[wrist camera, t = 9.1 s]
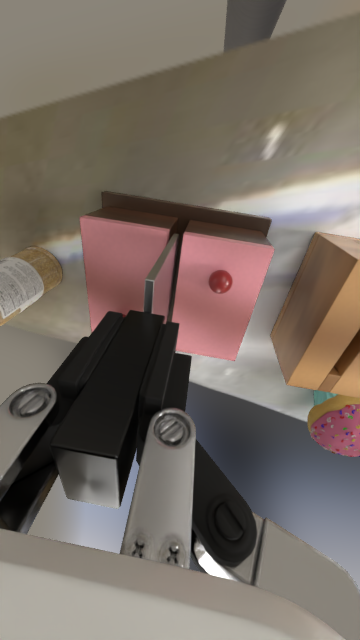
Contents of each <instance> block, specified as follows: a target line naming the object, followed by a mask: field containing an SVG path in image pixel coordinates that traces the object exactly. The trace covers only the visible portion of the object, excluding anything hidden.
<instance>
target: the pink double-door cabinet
mask: <svg viewBox="0 0 360 640" xmlns="http://www.w3.org/2000/svg"><path fill="white" fill-rule="evenodd" d="M271 221H272V219H271V218H269V217H263V216H256V215H250V214H244V213H238V212H232V211H225V210H219V209H213V208H207V207H201V206H194V205H188V204H182V203H176V202H170V201H163V200H157V199H151V198H145V197H139V196H132V195H126V194H120V193H114V192H108V191H104V192H102V209H99V210H97V211H94V212H91V213H89V214H86V215H84V216H81V217H80V227H81V237H82V246H83V256H84V265H85V275H86V284H87V294H88V303H89V313H90V322H91V331H92V332H93V331H94V330H95V328H96V327H97V325H98V324H99V323H100V321H101V320H102V319H103V317H104V316H105V315H106V313H107V312H108V311H113V312H119V313H122V315H123V317H126V315H127V313H128V312H129V310H135V311H141V312H143V307H144V287H145V279H146V277H147V275H148V274H149V272H150V271H151V269H152V268H153V266H154V264H155V263H156V261H157V260H158V258H159V256H160V255H161V253H162V252H163V250H164V249H165V247H166V245H167V244H168V242H169V241H170V239H171V237H172V236H173V234H179V242H178V250H177V258H176V266H175V274H174V282H173V291H172V299H171V307H170V311H169V314H168V317H167V321H169V322H175V323H180V325H179V331H178V338H177V344H176V351H181V352H187V353H192V354H198V355H203V356H209V357H214V358H220V359H225V360H231V361H235V359H236V356H237V354H238V351H239V348H240V345H241V342H242V340H243V337H244V334H245V331H246V328H247V326H248V323H249V320H250V317H251V314H252V312H253V309H254V306H255V303H256V301H257V298H258V295H259V292H260V289H261V287H262V284H263V281H264V278H265V275H266V273H267V270H268V267H269V264H270V261H271V259H272V256H273V253H274V250H275V249H274V248H273V246H272V245H271V244H270V242H269V241H268V240H267V238H266V236H267V233H268V230H269V227H270V224H271ZM167 321H166V324H167Z"/></svg>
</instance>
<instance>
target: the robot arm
mask: <svg viewBox="0 0 360 640" xmlns="http://www.w3.org/2000/svg"><path fill="white" fill-rule="evenodd" d="M124 319H125V317H123V315H122V313H119V312H113V311H108V312H107V313H106V315H105V316H104V317H103V319H102V320H101V321H100V323H99V324H98V325H97V327H96V328H95V330H94V331H93V332H92V334H91V335H90V336H89V337H83V338H82V339H81V340H80V341H79V343H78V344H77V345H76V347H75V348H74V349H73V350H72V352H71V353H70V354H69V356H68V357H67V358H66V360H65V361H64V362H63V363H62V365H61V366H60V367H59V369H58V370H57V371H56V372H55V374H54V375H53V376H52V377H51V379H50V380H49V381H48V383H47V384H45V383H35V384H29V385H26V386H23V387H21V388H20V389H18V390H16V391H15V392H14V393H12V394H11V395H10V396H9V397H8V398H7V399H6V400H5V401H4V402H3V403H2V405H0V640H360V590H359V588H358V586H357V584H356V583H355V581H354V580H353V579H352V577H351V576H350V575H349V574H348V572H347V571H346V570H345V569H344V568H342V567H341V566H340V565H339V564H338V563H336V562H335V561H334V560H332V559H330V558H329V557H327V556H326V555H324V554H322V553H321V552H319V551H318V550H316V549H315V548H313V547H312V546H310V545H308V544H307V543H305V542H304V541H302V540H301V539H299V538H298V537H296V536H294V535H293V534H291V533H290V532H288V531H287V530H285V529H283V528H282V527H280V526H279V525H277V524H276V523H274V522H272V521H271V520H269V519H268V518H265V519H262V518H261V517H259V516H258V515H256V514H255V513H253V512H252V511H251V509H250V507H249V506H248V504H247V503H246V501H245V500H244V499H243V497H242V496H241V495H240V494H239V493H238V491H237V490H236V489H235V487H234V486H233V485H232V484H231V482H230V481H229V480H228V479H227V477H226V476H225V475H224V474H223V472H222V471H221V470H220V469H219V467H218V466H217V465H216V464H215V462H214V461H213V460H212V459H211V457H210V456H209V455H208V454H207V452H206V451H205V450H204V449H203V447H202V446H201V445H200V443H199V442H198V441H197V440H196V438H195V435H196V433H195V432H196V431H195V425H194V422H193V420H192V418H191V417H190V416H189V415H188V414H187V413H185V407H186V399H187V391H188V383H189V374H190V366H191V358H192V356H189V355H183V354H178V353H175V351H176V344H177V338H178V331H179V325H180V323H175V322H169V321H167V324H162V325H161V328H160V331H159V334H158V337H157V340H156V343H155V345H154V348H153V351H152V354H151V357H150V360H149V363H148V366H147V369H146V372H145V375H144V378H143V381H142V384H141V387H140V391H139V393H140V395H139V406H138V427H137V457H136V461H137V463H138V464H139V471H138V475H137V480H136V484H135V489H134V493H133V497H132V502H131V506H130V510H129V515H128V519H127V524H126V528H125V533H124V537H123V541H122V546H121V550H120V554H117V553H112V552H107V551H103V550H99V549H94V548H89V547H84V546H79V545H75V544H71V543H66V542H61V541H56V540H51V539H46V538H42V537H37V536H33V535H28V534H27V533H28V531H29V529H30V527H31V525H32V523H33V522H34V520H35V518H36V516H37V514H38V512H39V510H40V508H41V507H42V505H43V502H44V501H45V499H46V497H47V495H48V493H49V491H50V490H51V488H52V486H53V484H54V482H55V480H56V478H57V477H58V475H59V473H58V470H57V467H56V464H55V462H54V459H53V456H52V453H51V450H50V447H49V443H50V441H51V439H52V438H53V436H54V434H55V433H56V431H57V430H58V428H59V426H60V425H61V423H62V421H63V420H64V418H65V416H66V415H67V413H68V411H69V410H70V408H71V406H72V405H73V403H74V401H75V400H76V398H77V396H78V395H79V393H80V391H81V390H82V388H83V386H84V385H85V383H86V381H88V379H89V377H90V376H91V374H92V372H93V371H94V369H95V367H96V366H97V364H98V362H99V361H100V359H101V357H102V356H103V354H104V352H105V350H106V349H107V347H108V345H109V344H110V342H111V340H112V339H113V337H114V335H115V334H116V332H117V330H118V329H119V327H120V325H121V324H122V322H123V320H124ZM190 557H191V558H192V560H193V562H194V564H195V565H196V566H197V568H198V569H199V570H200V572H197V571H193V570H190Z"/></svg>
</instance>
